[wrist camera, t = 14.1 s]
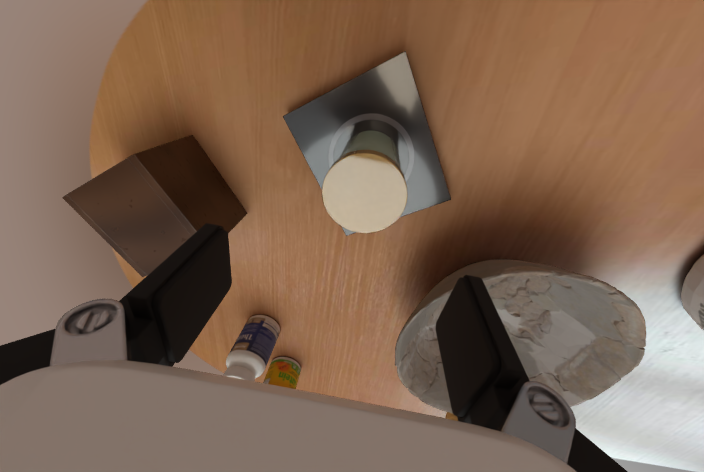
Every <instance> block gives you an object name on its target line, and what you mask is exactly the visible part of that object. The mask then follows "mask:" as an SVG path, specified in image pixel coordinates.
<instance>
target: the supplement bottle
mask: <svg viewBox="0 0 704 472" xmlns="http://www.w3.org/2000/svg"><path fill="white" fill-rule="evenodd" d="M300 371H301V367H300V365H299V363H298V362H296V361H295V360H293V359H291V358H288V357H277V358H275V359H274V360H273V361H272V362H271V364H270V367H269V369H268V372H267V374H266V377H265V379H264V382H263V383H265V384H270V385H276V386H281V387H286V388H292V389H296V385H297V382H298V379H299V375H300Z"/></svg>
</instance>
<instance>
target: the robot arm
mask: <svg viewBox="0 0 704 472" xmlns="http://www.w3.org/2000/svg"><path fill="white" fill-rule="evenodd" d="M231 283H232V279H231V266H230V253H229V241H228V232H227V231H226V230H224V228H223V226H220V225H215V224H210V223H206V224H205V225H203V226H202V227H201V228H200V229H199V230H198V231H197V232H196V233H195V234H193V235H192V236H191V237H190V238H189V239H188V240H187V241H186V242H184V243H183V244H182V245H181V246H180V247H179V248H178V249H177V250H176V251H174V252H173V253H172V254H171V255H170V256H169V257H168V258H167V259H166V260H164V261H163V262H162V263H161V264H160V265H159V266H158V267H157V268H156V269H154V270H153V271H152V272H151V273H150V274H149V275H148V276H147V277H146V278H144V279H143V280H142V281H141V282H140V283H139V284H138V285H137V286H136V287H134V288H133V289H132V290H131V291H130V292H129V293H128V294H127V295H126V296H124V297H123V298H122V299H121V300H120V301H117V300H113V299H97V300H92V301H89V302H86V303H83V304H81V305H78V306H76V307H74V308H73V309H71V310H70V311H68V312H67V313H65V314H64V315H63V316H62V318H61V319H60V320H59V321H58V323H57V326H56V329H53V330H50V331H47V332H43V333H40V334H37V335H34V336H30V337H27V338H24V339H21V340H17V341H15V342H11V343H8V344H5V345H1V346H0V472H627V471H626V470H625V469H624V468H623V467H621V466H620V465H619V464H618V463H617V462H615V461H614V460H613V459H612V458H611V457H609V456H608V455H607V454H606V453H605V452H603V451H602V450H601V449H600V448H599V447H597V446H596V445H595V444H594V443H592V442H591V441H590V440H589V439H588V438H586V437H585V436H584V435H583V434H582V433H580V432H579V431H578V430H577V429H576V428H575V427H576V419H575V417H574V414H573V411H572V410H571V408H570V406H569V405H568V403H567V402H566V401H565V400H564V399H563V398H562V396H561V395H559V394H558V393H557V392H556V391H555V390H553V389H552V388H550V387H549V386H547V385H545V384H543V383H540V382H537V381H530V380H529V378H528V376H527V374H526V372H525V370H524V367H523V365H522V363H521V361H520V359H519V357H518V355H517V352H516V350H515V348H514V346H513V344H512V342H511V340H510V338H509V335H508V333H507V331H506V329H505V327H504V325H503V323H502V320H501V318H500V316H499V314H498V312H497V310H496V308H495V306H494V303H493V301H492V299H491V297H490V295H489V293H488V291H487V289H486V286H485V284H484V282H483V280H482V279H481V278H480V277H476V276H471V275H464V276H463V278H462V277H460V278H459V279H458V280H457V282H456V284H455V286H454V288H453V290H452V292H451V294H450V296H449V298H448V300H447V302H446V304H445V306H444V308H443V310H442V312H441V314H440V316H439V318H438V320H437V322H436V327H435V329H436V335H437V340H438V345H439V350H440V355H441V360H442V364H443V369H444V374H445V379H446V384H447V389H448V394H449V399H450V404H451V409H452V412H453V414H454V415H455V416H457V419H458V421H454V420H450V419H445V418H440V417H436V416H431V415H426V414H421V413H416V412H411V411H406V410H401V409H395V408H390V407H385V406H380V405H375V404H370V403H365V402H360V401H355V400H349V399H344V398H339V397H334V396H328V395H323V394H318V393H313V392H307V391H302V390H297V389H292V388H286V387H281V386H276V385H270V384H265V383H260V382H254V381H249V380H243V379H238V378H233V377H227V376H222V375H216V374H211V373H206V372H200V371H194V370H188V369H182V368H176V367H172V366H173V365H174V363H175V362H176V363H178V362H180V361H181V360H182V359H183V357H184V356H185V354H186V353H187V351H188V350H189V348H190V347H191V345H192V344H193V342H194V341H195V339H196V338H197V337H198V335H199V334H200V332H201V331H202V329H203V328H204V326H205V325H206V323H207V322H208V320H209V319H210V317H211V316H212V314H213V313H214V312H215V310H216V309H217V307H218V306H219V304H220V303H221V301H222V300H223V298H224V297H225V295H226V294H227V292H228V291H229V289H230V287H231Z"/></svg>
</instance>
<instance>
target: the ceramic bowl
mask: <svg viewBox="0 0 704 472" xmlns="http://www.w3.org/2000/svg"><path fill="white" fill-rule="evenodd" d="M464 275H471V276H476V277H480V278H481V279H482V280H483V282H484V284H485V286H486V289H487V291H488V293H489V295H490V297H491V299H492V301H493V303H494V306H495V308H496V310H497V312H498V314H499V316H500V318H501V320H502V323H503V325H504V327H505V329H506V331H507V333H508V335H509V338H510V340H511V342H512V344H513V346H514V348H515V350H516V352H517V355H518V357H519V359H520V361H521V363H522V365H523V367H524V370H525V372H526V374H527V376H528V378H529V380H530V381H537V382H540V383H543V384H545V385H547V386H549V387H550V388H552V389H553V390H555V391H556V392H557V393H558V394H559V395H561V396H562V398H563V399H564V400H565V401H566V402H567V403H568V405H569V406H570V407H571V406H575V405H578V404H580V403H582V402H584V401H586V400H590V399H592V398H594V397H596V396H597V395H599V394H601V393H602V392H604V391H605V390H607V389H608V388H610V387H611V386H613V385H614V384H615V383H617V382H618V381H620V380H621V378H622V377H624V376H625V375H626V374H628V373H629V372H631V371H632V370H633V369H634V368H635V367H636V366H638V365H639V363H640V362H641V360H642V358H643V356H644V350H645V349H644V348H643V347H645V346H646V342H645V339H646V326H645V320H644V317H643V315H642V313H641V311H640V309H639V307H638V306H637V304H636V303H635V302H634V301H632V300H631V299H630V298H628V297H627V296H626V295H625V294H624V293H623V292H621V291H619V290H617V289H616V288H615V287H613V286H611V285H609V284H608V283H606V282H603V281H601V280H598V279H596V278H593V277H590V276H586V275H581V274H578V273H574V272H571V271H568V270H565V269H562V268H559V267H556V266H551V265H545V264H540V263H533V262H527V261H520V260H511V259H496V260H487V261H482V262H478V263H474V264H470V265H467V266H465V267H463V268H461V269H459V270H457V271H455V272H453V273H452V274H450V275H449V276H447V277H446V278H444V279H443V280H442V281H441V282H439V283H438V284H437V285H436V286H435V287H434V288H432V289H431V291H430V292H429V293H428V294H427V295H426V296H425V297H424V298H423V299H422V301H421V302H420V303H419V305H418V306H417V307H416V309H415V310H414V311H413V313H412V314H411V316H410V317H409V319H408V320H407V322H406V324H405V325H404V327H403V329H402V330H401V332H400V334H399V337H398V339H397V343H396V348H395V366H397V373H398V376H399V378H400V380H401V382H402V383H403V385H404V386H405V387H406V388H408V390H409V392H410V393H412V394H413V395H414V396H416V397H418V398H419V399H420V400H421V401H423V402H425V403H426V404H428V405H430V406H432V407H435V408H437V409H440V410H443V411H446V412H449V413H453V412H452V409H451V404H450V399H449V394H448V389H447V384H446V379H445V374H444V369H443V364H442V360H441V355H440V350H439V345H438V340H437V335H436V329H435V327H436V322H437V320H438V318H439V316H440V314H441V312H442V310H443V308H444V306H445V304H446V302H447V300H448V298H449V296H450V294H451V292H452V290H453V288H454V286H455V284H456V282H457V280H458V279H459V278H460V277H462V278H463V276H464Z"/></svg>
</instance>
